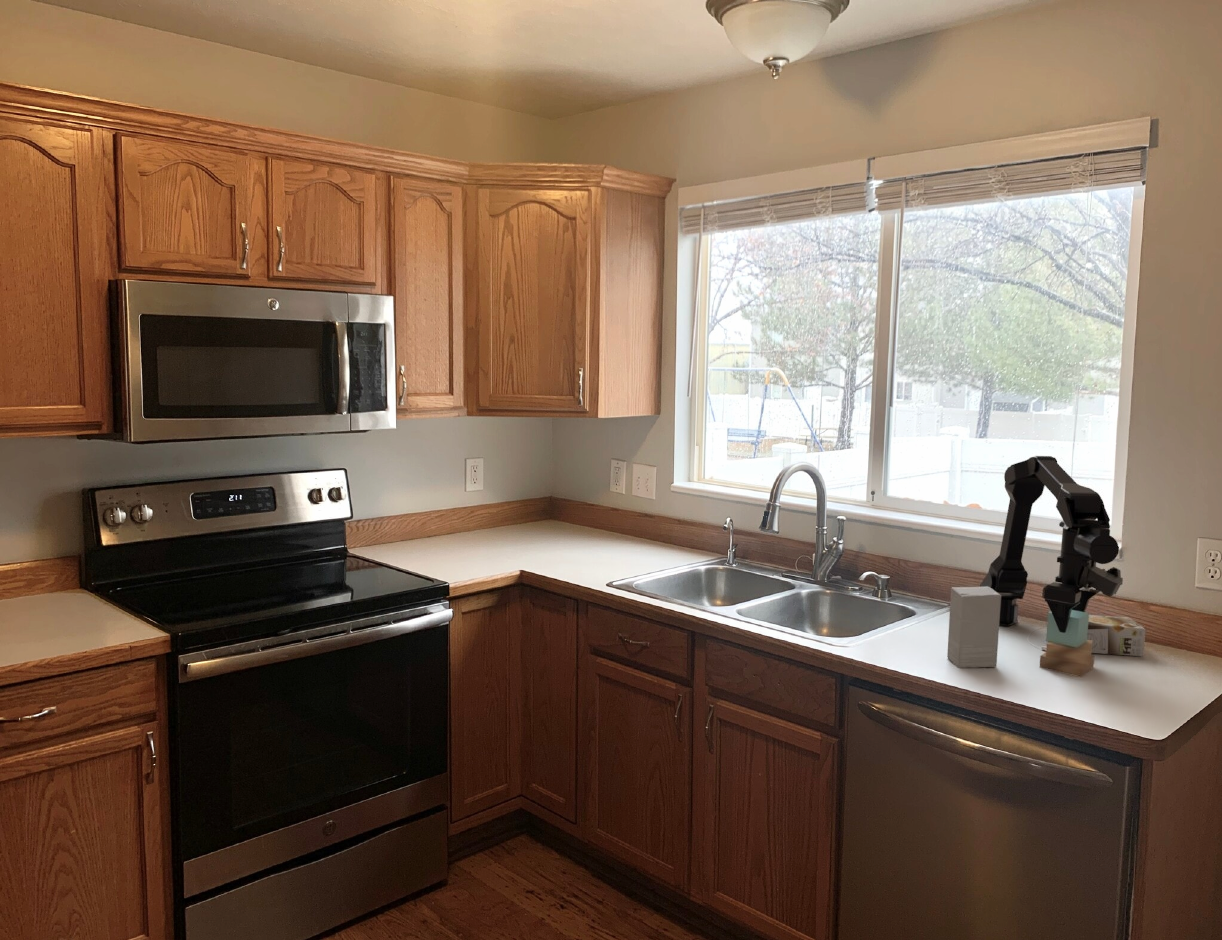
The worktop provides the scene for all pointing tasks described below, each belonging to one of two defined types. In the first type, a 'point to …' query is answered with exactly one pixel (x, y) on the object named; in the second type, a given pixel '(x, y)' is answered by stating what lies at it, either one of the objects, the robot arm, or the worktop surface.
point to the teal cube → (1069, 629)
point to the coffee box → (1116, 635)
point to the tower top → (1070, 652)
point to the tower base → (1066, 666)
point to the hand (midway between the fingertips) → (1070, 627)
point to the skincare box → (974, 627)
